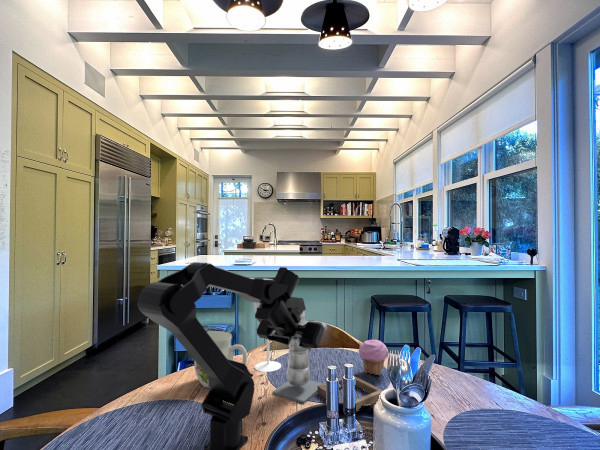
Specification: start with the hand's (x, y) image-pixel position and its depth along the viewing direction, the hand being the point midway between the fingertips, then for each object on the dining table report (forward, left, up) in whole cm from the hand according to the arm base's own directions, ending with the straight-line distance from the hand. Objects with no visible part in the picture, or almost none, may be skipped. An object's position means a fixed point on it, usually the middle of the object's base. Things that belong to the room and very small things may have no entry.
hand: (300, 346), depth 88 cm
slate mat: (-1, 0, -11) cm, 11 cm away
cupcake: (+18, -17, -12) cm, 27 cm away
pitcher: (-6, +24, -12) cm, 28 cm away
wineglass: (+10, +16, -12) cm, 22 cm away
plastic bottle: (-1, 0, -10) cm, 10 cm away
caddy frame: (+1, -14, -11) cm, 18 cm away
